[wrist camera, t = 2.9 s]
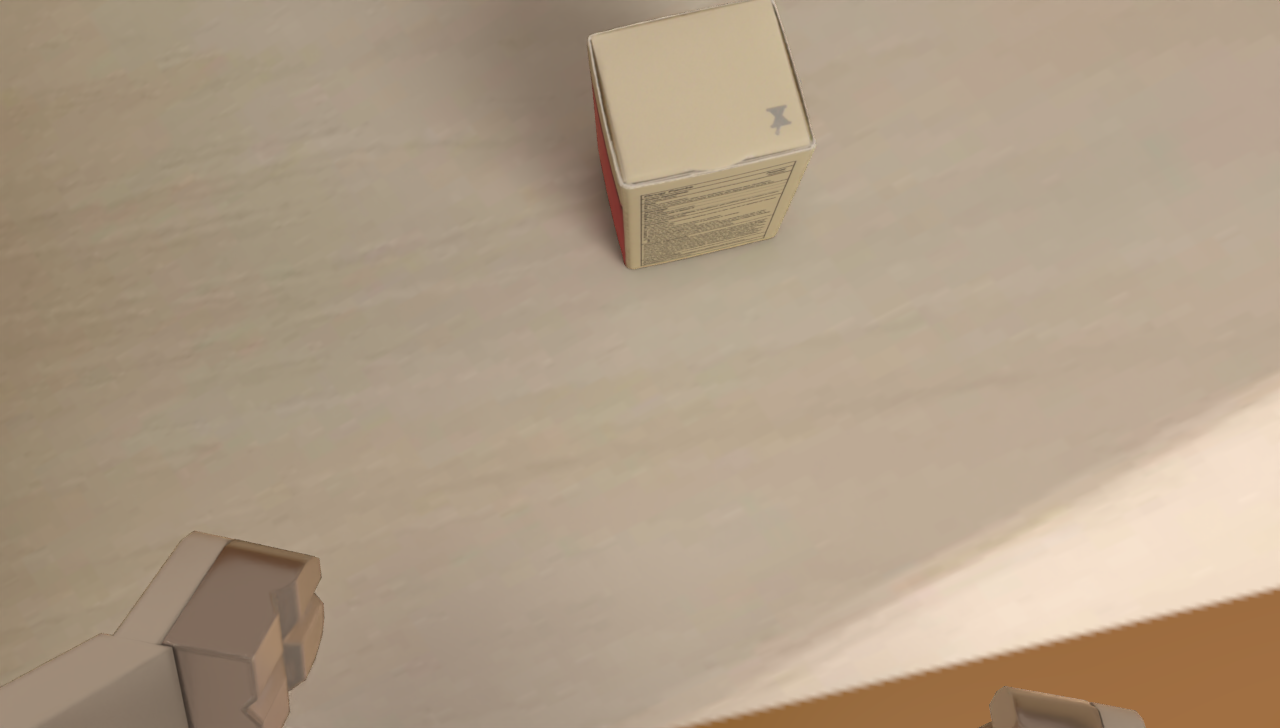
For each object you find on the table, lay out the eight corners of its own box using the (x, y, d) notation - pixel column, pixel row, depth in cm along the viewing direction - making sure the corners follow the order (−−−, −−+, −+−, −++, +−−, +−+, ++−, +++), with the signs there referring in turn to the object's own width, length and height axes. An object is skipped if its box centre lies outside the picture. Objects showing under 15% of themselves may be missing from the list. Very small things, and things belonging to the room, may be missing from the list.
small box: (745, 117, 33) (778, -13, 25) (777, 240, 33) (822, 146, 25) (594, 149, 33) (581, 28, 25) (623, 275, 32) (619, 190, 25)
